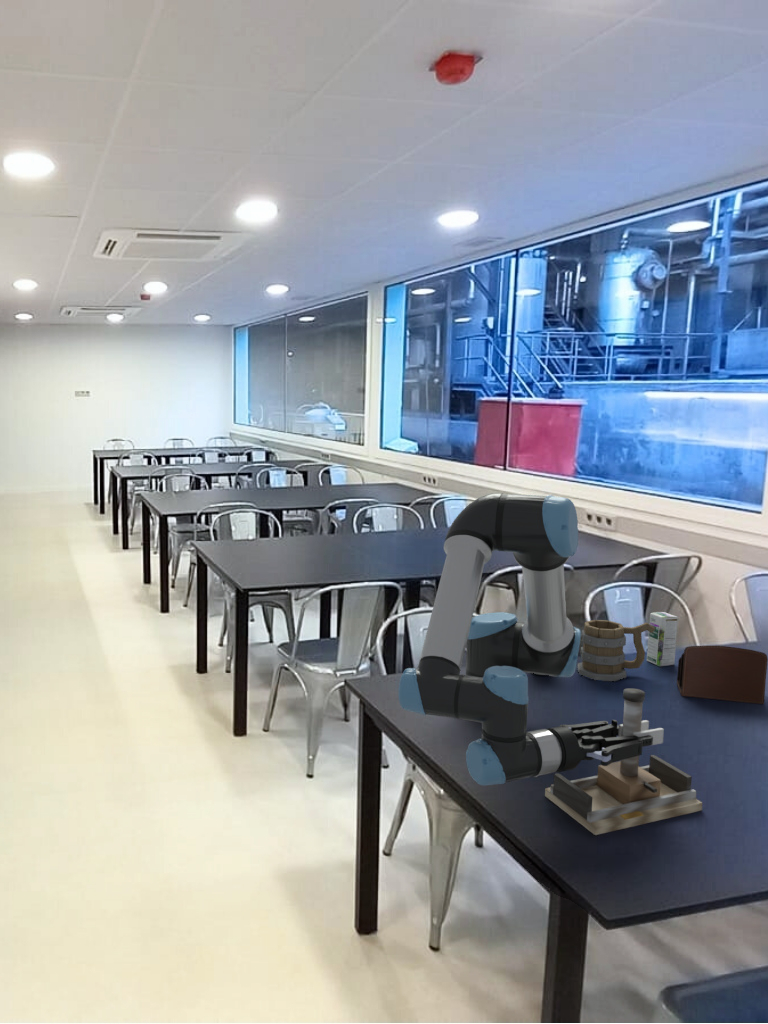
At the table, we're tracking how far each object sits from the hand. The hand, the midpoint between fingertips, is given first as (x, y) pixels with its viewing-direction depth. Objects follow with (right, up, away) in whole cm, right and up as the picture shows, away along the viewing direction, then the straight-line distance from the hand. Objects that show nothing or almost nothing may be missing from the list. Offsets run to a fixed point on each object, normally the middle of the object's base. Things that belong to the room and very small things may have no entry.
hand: (654, 731), depth 151 cm
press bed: (-6, -13, -1) cm, 15 cm away
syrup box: (+30, -3, +83) cm, 88 cm away
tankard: (+13, -4, +72) cm, 73 cm away
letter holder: (+37, -6, +59) cm, 69 cm away
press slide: (-5, -11, -2) cm, 13 cm away
